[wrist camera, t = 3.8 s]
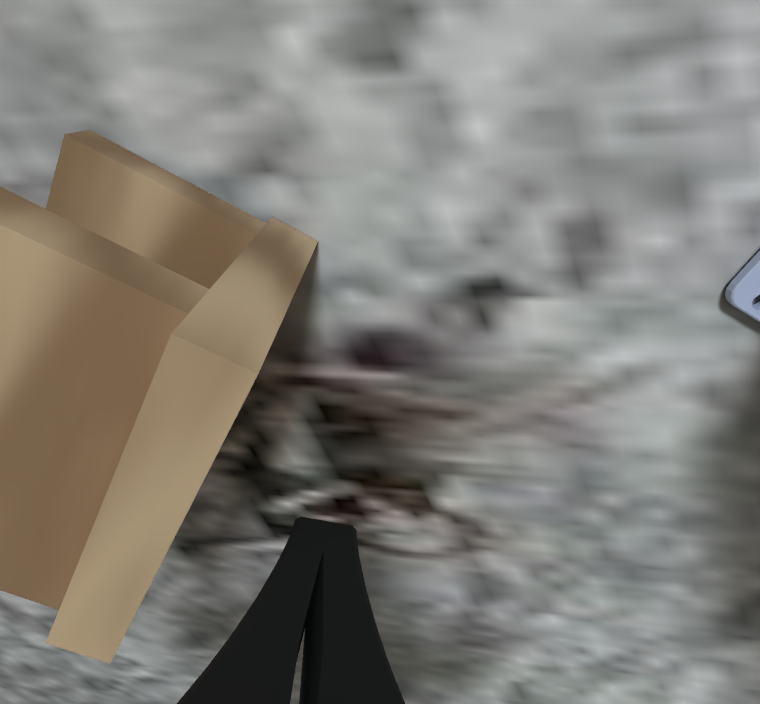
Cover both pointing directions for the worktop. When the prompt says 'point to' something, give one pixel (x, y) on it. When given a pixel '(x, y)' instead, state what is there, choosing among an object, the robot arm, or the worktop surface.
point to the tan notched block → (121, 373)
